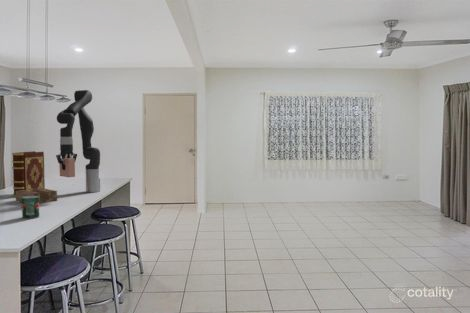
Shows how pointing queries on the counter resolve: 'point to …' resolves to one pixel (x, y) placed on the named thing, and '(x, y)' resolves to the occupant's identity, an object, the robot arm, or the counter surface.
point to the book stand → (43, 194)
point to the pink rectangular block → (68, 168)
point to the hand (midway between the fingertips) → (67, 169)
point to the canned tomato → (30, 207)
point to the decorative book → (28, 171)
